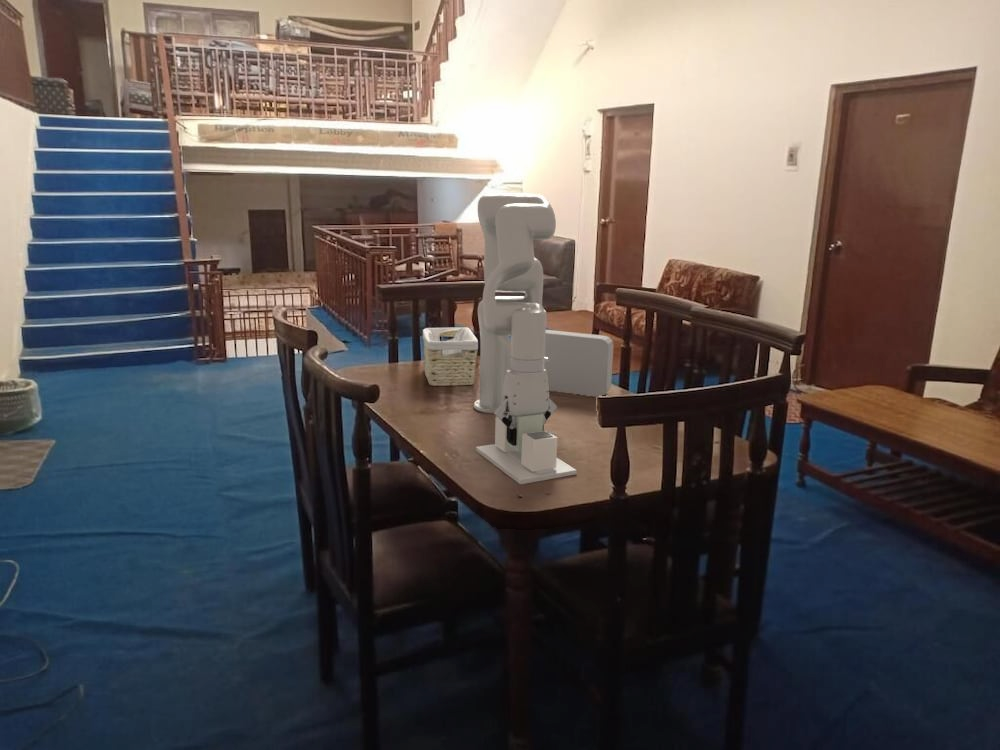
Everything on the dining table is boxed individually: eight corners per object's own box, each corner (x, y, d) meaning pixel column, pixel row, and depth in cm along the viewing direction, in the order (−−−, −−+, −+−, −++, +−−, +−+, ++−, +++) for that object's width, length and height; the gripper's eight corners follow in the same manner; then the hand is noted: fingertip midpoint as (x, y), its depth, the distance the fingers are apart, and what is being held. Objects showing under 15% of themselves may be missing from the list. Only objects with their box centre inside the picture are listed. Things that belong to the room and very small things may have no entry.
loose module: (508, 444, 167) (508, 410, 165) (531, 441, 170) (532, 407, 168) (518, 451, 163) (519, 416, 161) (541, 448, 166) (543, 413, 164)
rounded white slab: (612, 392, 226) (616, 335, 221) (605, 398, 219) (609, 339, 215) (526, 381, 237) (527, 326, 232) (517, 386, 230) (518, 330, 225)
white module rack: (475, 450, 174) (476, 415, 172) (527, 442, 180) (528, 408, 178) (520, 484, 155) (521, 445, 153) (576, 474, 161) (578, 436, 159)
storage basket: (421, 369, 249) (421, 326, 245) (469, 368, 251) (469, 326, 248) (426, 388, 226) (426, 341, 222) (478, 387, 229) (479, 340, 225)
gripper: (552, 357, 169) (549, 432, 173) (484, 364, 161) (483, 441, 166) (569, 364, 162) (566, 441, 167) (500, 372, 155) (498, 452, 159)
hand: (524, 441), depth 166 cm, fingers closed on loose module, 6 cm apart
